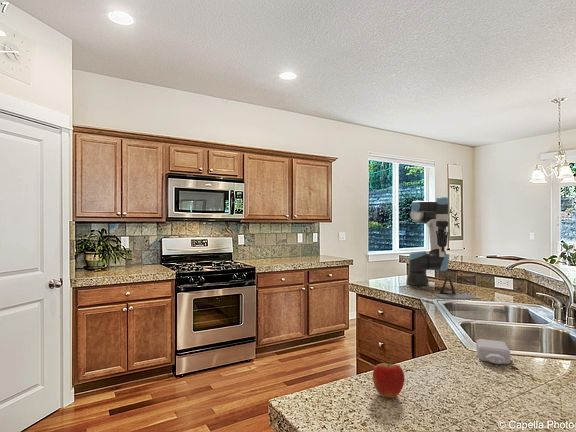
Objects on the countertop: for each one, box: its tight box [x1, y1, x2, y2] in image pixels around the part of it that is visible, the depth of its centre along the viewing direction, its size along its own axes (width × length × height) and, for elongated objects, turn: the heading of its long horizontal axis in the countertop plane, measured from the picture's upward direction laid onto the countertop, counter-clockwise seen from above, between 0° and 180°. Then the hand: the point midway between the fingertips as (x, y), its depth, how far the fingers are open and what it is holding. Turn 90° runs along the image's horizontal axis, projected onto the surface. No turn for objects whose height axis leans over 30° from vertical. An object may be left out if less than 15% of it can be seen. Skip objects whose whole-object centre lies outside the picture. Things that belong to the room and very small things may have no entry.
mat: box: [433, 293, 480, 300], centre depth 223 cm, size 12×22×1 cm, turn 93°
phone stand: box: [439, 273, 457, 294], centre depth 233 cm, size 9×6×12 cm, turn 65°
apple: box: [372, 356, 405, 399], centre depth 98 cm, size 8×8×10 cm
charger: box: [475, 338, 511, 365], centre depth 123 cm, size 5×9×15 cm
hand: (441, 256), depth 242 cm, fingers closed
